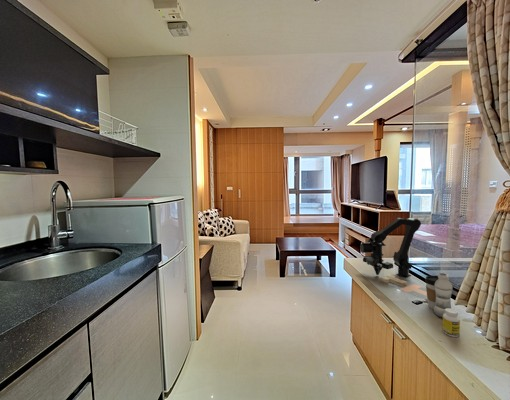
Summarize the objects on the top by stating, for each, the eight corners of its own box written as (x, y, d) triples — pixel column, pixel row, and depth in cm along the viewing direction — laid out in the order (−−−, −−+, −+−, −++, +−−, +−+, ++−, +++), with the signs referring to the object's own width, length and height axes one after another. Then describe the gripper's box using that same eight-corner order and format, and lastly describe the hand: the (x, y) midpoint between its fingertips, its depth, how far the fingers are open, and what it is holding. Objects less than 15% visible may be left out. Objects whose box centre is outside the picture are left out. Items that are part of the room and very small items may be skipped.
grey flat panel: (390, 276, 154) (390, 275, 154) (442, 294, 128) (442, 293, 128) (376, 281, 148) (376, 280, 148) (427, 300, 122) (427, 300, 122)
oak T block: (392, 276, 152) (392, 274, 152) (410, 283, 142) (410, 280, 141) (379, 280, 147) (379, 277, 147) (398, 288, 136) (398, 284, 136)
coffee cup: (450, 312, 111) (450, 281, 110) (430, 310, 113) (430, 280, 112) (440, 303, 119) (440, 274, 118) (421, 302, 121) (421, 274, 120)
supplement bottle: (452, 338, 93) (453, 315, 92) (439, 330, 98) (439, 308, 97) (463, 336, 94) (463, 312, 93) (449, 328, 99) (449, 306, 98)
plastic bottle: (430, 312, 111) (430, 272, 110) (444, 312, 111) (445, 271, 110) (440, 320, 105) (441, 277, 103) (456, 320, 104) (456, 277, 103)
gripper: (357, 250, 159) (357, 272, 160) (382, 258, 142) (382, 282, 143) (368, 248, 164) (368, 269, 165) (393, 254, 147) (393, 278, 148)
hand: (377, 274), depth 155 cm, fingers closed
